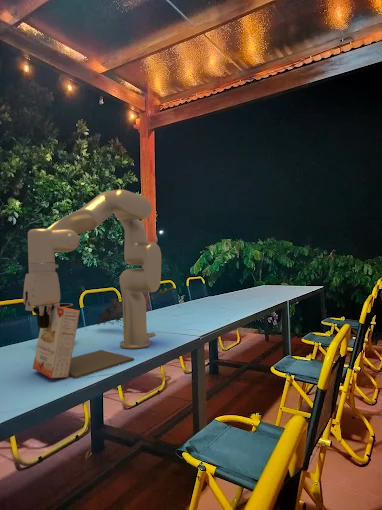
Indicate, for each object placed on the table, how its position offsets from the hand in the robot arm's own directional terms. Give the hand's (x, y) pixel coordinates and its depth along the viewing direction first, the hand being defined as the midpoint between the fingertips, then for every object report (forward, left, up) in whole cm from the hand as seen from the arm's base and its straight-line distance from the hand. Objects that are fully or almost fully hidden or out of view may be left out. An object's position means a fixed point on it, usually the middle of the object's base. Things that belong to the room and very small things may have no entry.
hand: (43, 327), depth 111 cm
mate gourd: (-22, -33, -16) cm, 43 cm away
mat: (-16, 0, -15) cm, 23 cm away
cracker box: (-1, 0, -15) cm, 15 cm away
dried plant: (-60, -27, -16) cm, 67 cm away
